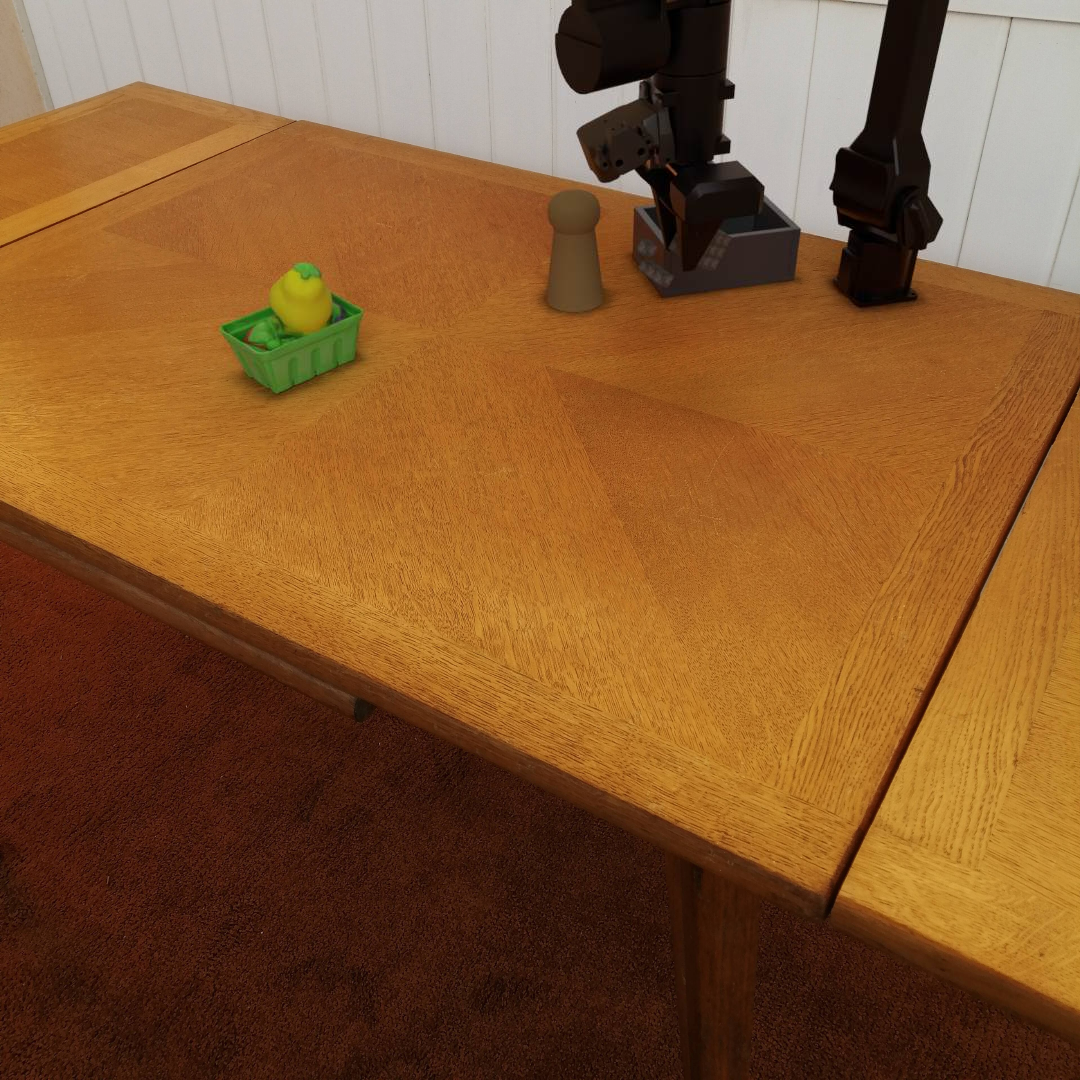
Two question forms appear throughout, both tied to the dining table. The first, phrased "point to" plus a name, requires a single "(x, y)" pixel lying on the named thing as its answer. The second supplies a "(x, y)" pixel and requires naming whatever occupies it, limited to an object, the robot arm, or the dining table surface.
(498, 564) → the dining table surface
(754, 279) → the bin
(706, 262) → the building blocks
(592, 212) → the brown pepper mill
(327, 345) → the fruit basket
